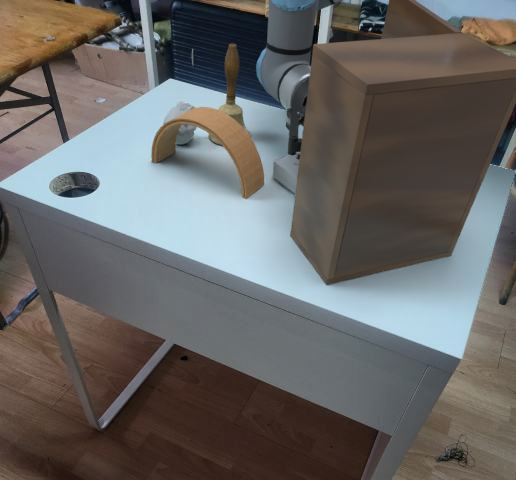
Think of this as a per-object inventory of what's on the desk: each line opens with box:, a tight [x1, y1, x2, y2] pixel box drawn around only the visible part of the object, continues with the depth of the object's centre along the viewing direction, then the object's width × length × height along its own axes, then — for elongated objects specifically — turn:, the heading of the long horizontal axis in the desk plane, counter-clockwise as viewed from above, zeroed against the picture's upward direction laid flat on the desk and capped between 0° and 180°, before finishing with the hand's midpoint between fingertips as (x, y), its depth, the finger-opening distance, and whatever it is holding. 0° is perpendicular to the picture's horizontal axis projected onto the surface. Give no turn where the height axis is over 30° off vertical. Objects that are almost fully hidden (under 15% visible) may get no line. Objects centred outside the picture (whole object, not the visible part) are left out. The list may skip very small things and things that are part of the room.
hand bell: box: [208, 43, 253, 146], centre depth 90 cm, size 8×8×16 cm
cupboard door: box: [380, 0, 463, 39], centre depth 79 cm, size 7×21×26 cm, turn 12°
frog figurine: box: [162, 101, 198, 145], centre depth 91 cm, size 6×7×7 cm
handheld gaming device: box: [272, 152, 300, 195], centre depth 86 cm, size 9×15×4 cm, turn 125°
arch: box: [150, 106, 265, 200], centre depth 83 cm, size 6×20×10 cm, turn 57°
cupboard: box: [289, 32, 516, 286], centre depth 65 cm, size 12×21×26 cm, turn 112°
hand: (380, 162), depth 67 cm, fingers open, 13 cm apart
